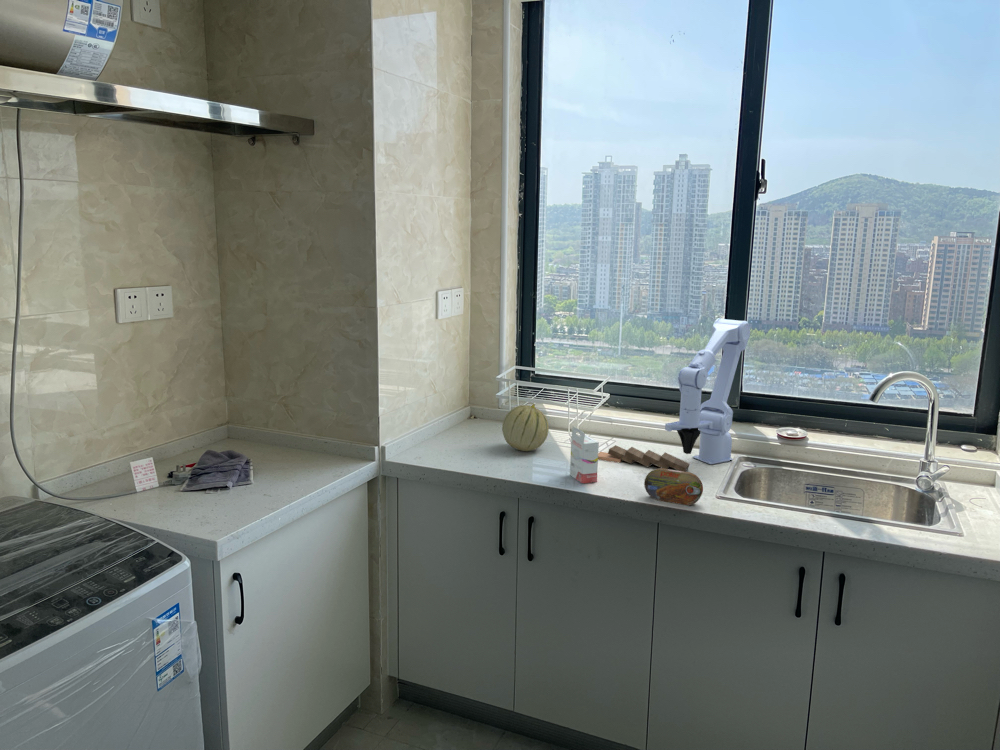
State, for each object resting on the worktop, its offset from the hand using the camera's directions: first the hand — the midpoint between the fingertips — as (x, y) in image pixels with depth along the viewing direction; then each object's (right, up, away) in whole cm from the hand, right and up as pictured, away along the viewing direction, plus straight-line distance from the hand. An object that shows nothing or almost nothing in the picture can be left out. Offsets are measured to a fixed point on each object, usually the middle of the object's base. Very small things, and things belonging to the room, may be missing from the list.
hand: (687, 453), depth 216 cm
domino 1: (-18, -3, +9) cm, 20 cm away
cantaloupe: (-47, -1, +19) cm, 51 cm away
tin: (-10, -10, -24) cm, 28 cm away
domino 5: (0, -5, 0) cm, 5 cm away
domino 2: (-14, -3, +8) cm, 16 cm away
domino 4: (-4, -4, +3) cm, 7 cm away
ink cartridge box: (-31, -7, -7) cm, 33 cm away
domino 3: (-9, -4, +5) cm, 11 cm away
